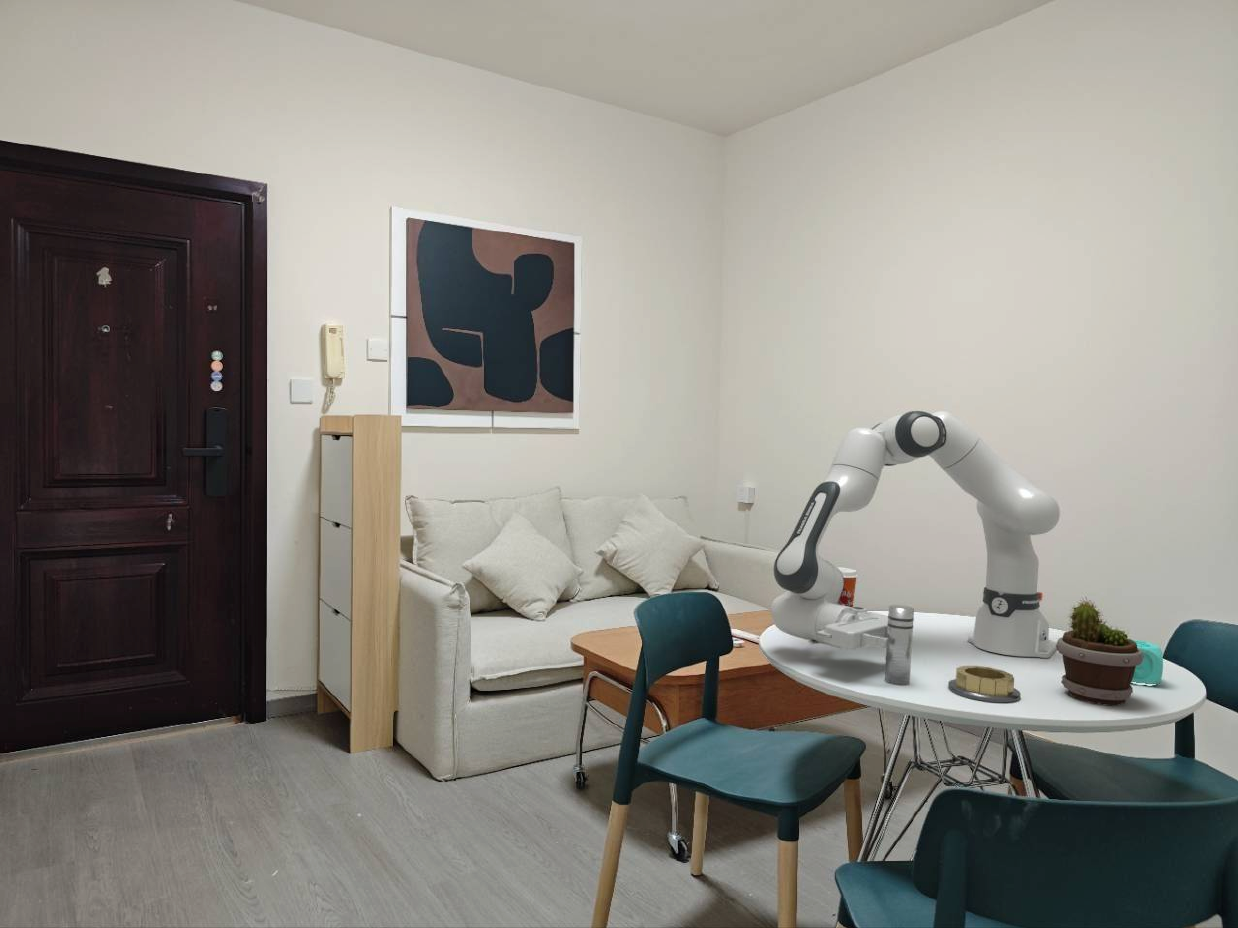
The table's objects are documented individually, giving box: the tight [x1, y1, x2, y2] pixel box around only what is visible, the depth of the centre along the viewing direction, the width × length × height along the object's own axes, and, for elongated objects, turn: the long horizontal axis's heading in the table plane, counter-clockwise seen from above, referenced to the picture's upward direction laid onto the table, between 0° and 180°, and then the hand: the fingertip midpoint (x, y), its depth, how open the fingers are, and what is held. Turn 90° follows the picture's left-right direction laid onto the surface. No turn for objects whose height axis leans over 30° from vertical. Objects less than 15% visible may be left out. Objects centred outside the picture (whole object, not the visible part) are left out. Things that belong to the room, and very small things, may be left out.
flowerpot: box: [1056, 597, 1144, 706], centre depth 167 cm, size 14×15×20 cm
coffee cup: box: [835, 566, 859, 607], centre depth 218 cm, size 8×8×15 cm
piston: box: [884, 604, 915, 686], centre depth 172 cm, size 5×5×15 cm
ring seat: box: [947, 665, 1022, 704], centre depth 167 cm, size 13×13×4 cm
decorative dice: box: [1130, 638, 1164, 685], centre depth 181 cm, size 8×8×8 cm
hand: (899, 639), depth 172 cm, fingers open, 8 cm apart
